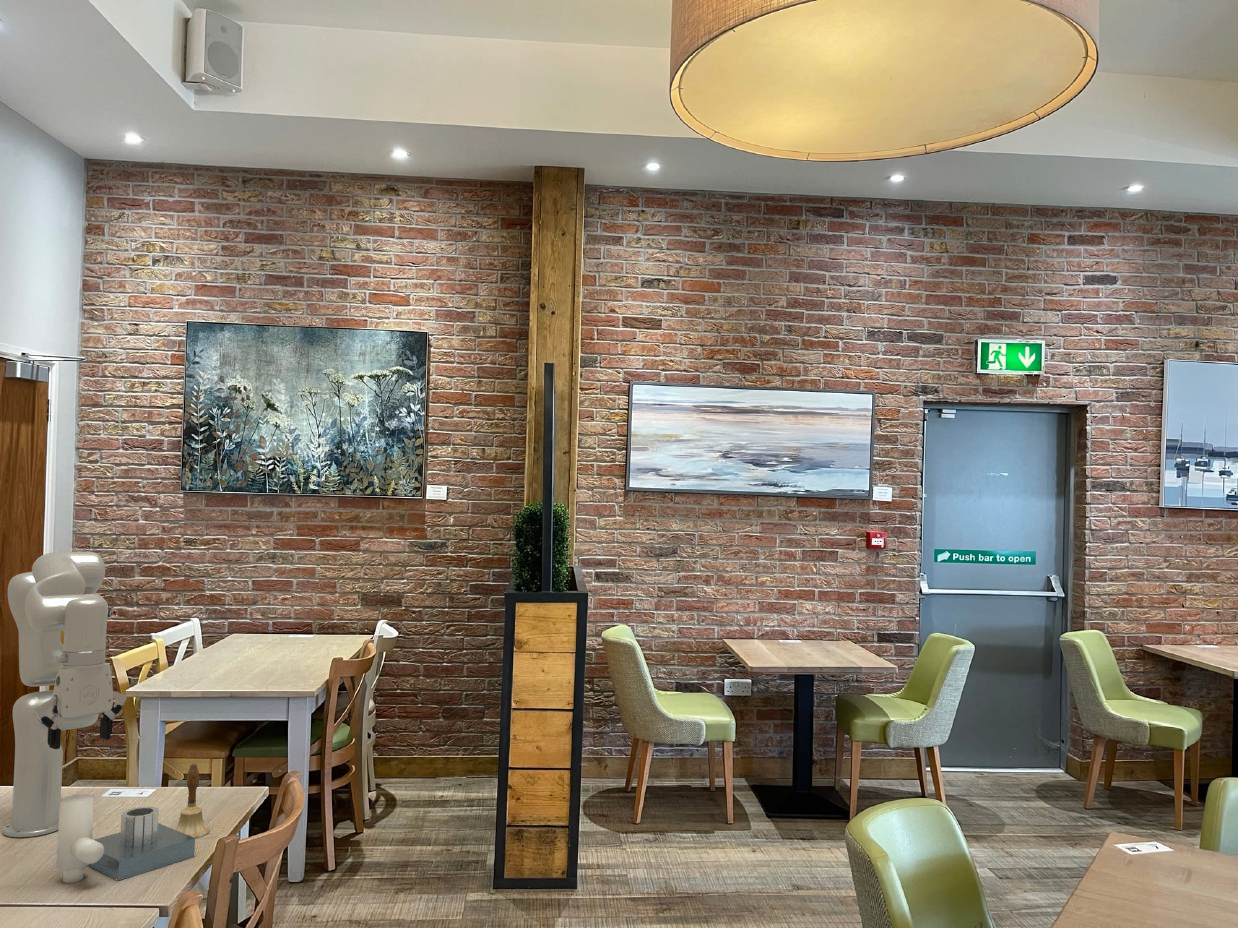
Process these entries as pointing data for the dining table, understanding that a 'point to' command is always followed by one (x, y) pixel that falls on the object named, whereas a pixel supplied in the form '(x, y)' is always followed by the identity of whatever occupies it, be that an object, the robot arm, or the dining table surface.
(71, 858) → the white tall branched piece
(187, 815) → the hand bell
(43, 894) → the dining table surface
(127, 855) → the vent box
